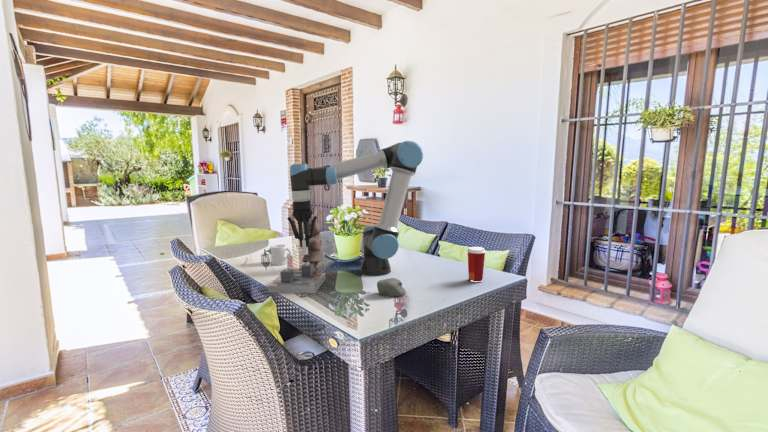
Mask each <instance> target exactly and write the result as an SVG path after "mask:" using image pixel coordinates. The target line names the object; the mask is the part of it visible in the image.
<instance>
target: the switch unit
mask: <svg viewBox="0 0 768 432" xmlns="http://www.w3.org/2000/svg"><path fill="white" fill-rule="evenodd" d="M326 277H327V275H326V272H318V271H314V274H313V275H312V276H302V270H294V281H293V282H281V274H280V275H279V276H277V277H276V278H275V279H274V280H272V281H271V282H270V283H269V284H268V285H267V294H269V293H273V294H275V293H278V294H284V293H285V294H316V293H317V291H318V290H319V289H320V287H321V285H323V284H324V283H325V281H326V279H327V278H326Z"/></svg>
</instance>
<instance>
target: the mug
mask: <svg viewBox="0 0 768 432" xmlns="http://www.w3.org/2000/svg"><path fill="white" fill-rule="evenodd" d="M287 251H288V253H287ZM291 254H292V250H291V249H290V248H288V247H287V245H286V244H273V245H271V246H270V256H271V265H272V266H283V265H287V264H288V259H289V258H291Z"/></svg>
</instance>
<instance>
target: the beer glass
mask: <svg viewBox="0 0 768 432" xmlns="http://www.w3.org/2000/svg"><path fill="white" fill-rule="evenodd" d="M466 252H467V267H468V280H469V279H470V280H473V281H481V280H482V279H484V270H485V269H484V267H485V259H486V252H487V251H486V250H485V248H484V247H482V246H469V247H468V248H467V250H466ZM482 281H483V280H482Z"/></svg>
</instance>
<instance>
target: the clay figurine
mask: <svg viewBox="0 0 768 432" xmlns="http://www.w3.org/2000/svg"><path fill="white" fill-rule="evenodd" d="M311 223H312V220H311V221H308V227H309V232H310V229H311ZM322 241H323V239H322V235H321V231H320V224H319V223H318V222H316V223H315V229H314V235H313V237H312V238H310V239H309V243H310V246H309V247H308V254H307V255H303V257H302V262H303V263H307V262H310V263H313V270H314V271H316V270H319V269H320V267H319V266H318V265H319V263H320V262H321V261H323V260H324V259H325V253H324V252H323V251H322V244H323V243H322Z"/></svg>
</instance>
